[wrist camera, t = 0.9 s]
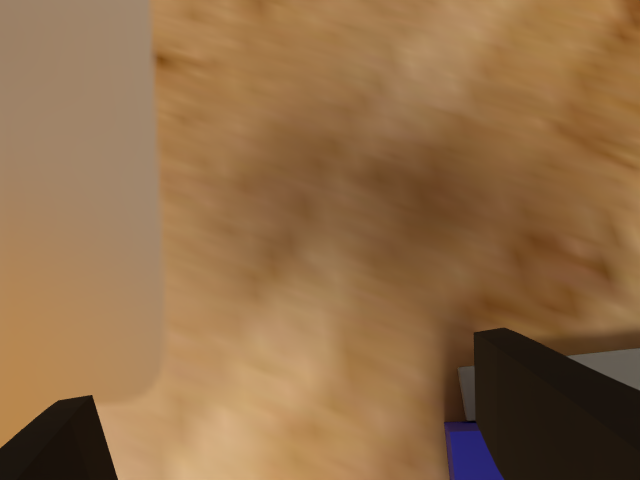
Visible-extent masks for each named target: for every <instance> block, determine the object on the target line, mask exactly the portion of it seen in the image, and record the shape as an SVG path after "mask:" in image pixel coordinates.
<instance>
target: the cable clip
mask: <svg viewBox="0 0 640 480" xmlns="http://www.w3.org/2000/svg"><path fill="white" fill-rule="evenodd" d="M444 424H445V434H446V444H447V454H448V464H449V474H450V480H504V479H503V477H502V475H501V474H500V472H499V470H498V469H497V467H496V465H495V463H494V461H493V458H492V456H491V454H490V452H489V450H488V448H487V446H486V443H485V441H484V439H483V437H482V434H481V432H480V430H479V428H478V425H477V423H476V421H465V422H444Z"/></svg>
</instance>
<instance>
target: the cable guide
mask: <svg viewBox="0 0 640 480" xmlns="http://www.w3.org/2000/svg"><path fill="white" fill-rule="evenodd" d="M566 357H568V358H570V359H573V360H575V361H577V362H579V363H581V364H583V365H585V366H587V367H589V368H591V369H593V370H595V371H598V372H600V373H602V374H604V375H606V376H608V377H611V378H613V379H615V380H617V381H620V382H622V383H624V384H626V385H628V386H631V387H633V388H636V389H638V390H640V348H636V349H627V350H617V351H608V352H598V353H589V354H580V355H570V356H566ZM457 370H458V376H459V382H460V388H461V394H462V400H463V406H464V412H465V418H466V420H467V421H471V420H475V371H474V366H468V367H459V368H458V369H457Z"/></svg>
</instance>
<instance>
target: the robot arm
mask: <svg viewBox="0 0 640 480" xmlns="http://www.w3.org/2000/svg"><path fill="white" fill-rule="evenodd" d="M474 371H475V421H476V423H477V425H478V428H479V430H480V432H481V434H482V437H483V439H484V441H485V443H486V446H487V448H488V450H489V452H490V454H491V456H492V458H493V461H494V463H495V465H496V467H497V469H498V470H499V472H500V474H501V475H502V477H503V479H504V480H640V390H638V389H636V388H633V387H631V386H628V385H626V384H624V383H622V382H620V381H617V380H615V379H613V378H611V377H608V376H606V375H604V374H602V373H600V372H598V371H595V370H593V369H591V368H589V367H587V366H585V365H583V364H581V363H579V362H577V361H575V360H573V359H570V358H568V357H566V356H564V355H562V354H560V353H558V352H556V351H554V350H552V349H550V348H548V347H546V346H544V345H542V344H540V343H538V342H536V341H534V340H532V339H530V338H527V337H525V336H523V335H521V334H519V333H517V332H514V331H512V330H509V329H507V328H499V329H493V330H487V331H480V332H474ZM0 480H118V478H117V475H116V472H115V468H114V465H113V462H112V459H111V455H110V452H109V449H108V446H107V442H106V439H105V436H104V432H103V429H102V426H101V423H100V419H99V416H98V413H97V409H96V406H95V403H94V400H93V396H92V395H89V396H83V397H77V398H71V399H65V400H59V401H57V402H55V403H54V404H53V405H51V406H50V407H49V408H47V409H46V410H45V411H44V412H42V413H41V414H40V415H39V416H37V417H36V418H35V419H34V420H33V421H31V422H30V423H29V424H28V425H27V426H26V427H25V428H23V429H22V430H21V431H20V432H19V433H17V434H16V435H15V436H14V437H13V438H12V439H11V440H10V441H8V442H7V443H6V444H5V445H4V446H2V447H1V448H0Z"/></svg>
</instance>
